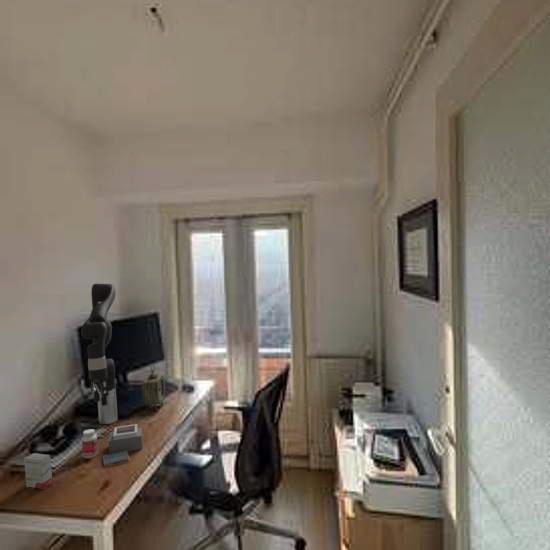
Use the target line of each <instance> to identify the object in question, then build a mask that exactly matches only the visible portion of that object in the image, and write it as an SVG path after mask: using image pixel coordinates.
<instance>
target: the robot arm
mask: <svg viewBox="0 0 550 550" xmlns="http://www.w3.org/2000/svg"><path fill="white" fill-rule="evenodd" d="M90 295H91V306H92V309H91V312H90V314H89V316H88V318H87V319H86V321H84V323H83V324H82V325H81V330H80V334H81V337H82V338H83V339H85V340H92V343H90V344H88V346H87V347H86V348H87V358H88V360H87V367H88V378H89V380H90V388H91V389H90V390H91V392H92V393H93V399H94V402H95V403H97V410H98V423H99V424H100V425H109V424H112V423H113V424H114V423H115V422H117V421H118V419H119V418H118V407H117V406H118V405H117V393H116V391H117V390H116V365H115V361H114V359H113V358H109V357H108V358H106V348H107V346H108V345H109V343H110V342H111V340H112V335H113V333H112V331H113V330H112V329H113V326H112V323H111V321H110V320H109V318H108V317H107V316H108V313H109V311H110V309H111V307H112V305H113V303H114V301H115V298H116V286H115V285H114V284H112V283H93V284H92V286H91V294H90Z"/></svg>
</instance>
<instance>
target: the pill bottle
mask: <svg viewBox="0 0 550 550" xmlns="http://www.w3.org/2000/svg"><path fill="white" fill-rule="evenodd" d="M82 436H83V437H81V447H82V457H83V458H84V459H92V458H95V457H97V456H98V455H99V446H98V436H97V434H96V432H95V429H93V428H92V429H90V428H89V429H85V430H83V433H82Z"/></svg>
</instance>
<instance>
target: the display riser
mask: <svg viewBox="0 0 550 550" xmlns="http://www.w3.org/2000/svg"><path fill="white" fill-rule="evenodd" d="M143 441H144V438H143V427H138V423H135V424H128V425H122V426H116V427H114V430H113V431H110V433H109V437H108V450H109V451H108V453H109V455H110V454H112V453H115V452H116V453H117V452H118V453H119V451H120V453H121V451H122V452H123V450H124V451H125V450H126V451H127V452H132V451H137V450H143V449H142V448H143V446H144V445H143V443H144V442H143Z"/></svg>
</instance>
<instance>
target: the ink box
mask: <svg viewBox="0 0 550 550" xmlns="http://www.w3.org/2000/svg"><path fill="white" fill-rule="evenodd" d="M23 463H24V472H25V485H26V488H28V487H34V488H42V489H44V488H45V487H47V486H49V485H50V484H51V485H53V484H54V483H53V474H52V473H53V472H52V463H51V454H43V453H38V452H33V453H31V454H29V455H28V456H26V457H24V459H23ZM52 483H53V484H52ZM51 485H50V486H51ZM50 486H49V487H50ZM34 488H33V489H34ZM47 488H48V487H47ZM45 489H46V488H45ZM45 489H44V490H45Z"/></svg>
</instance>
